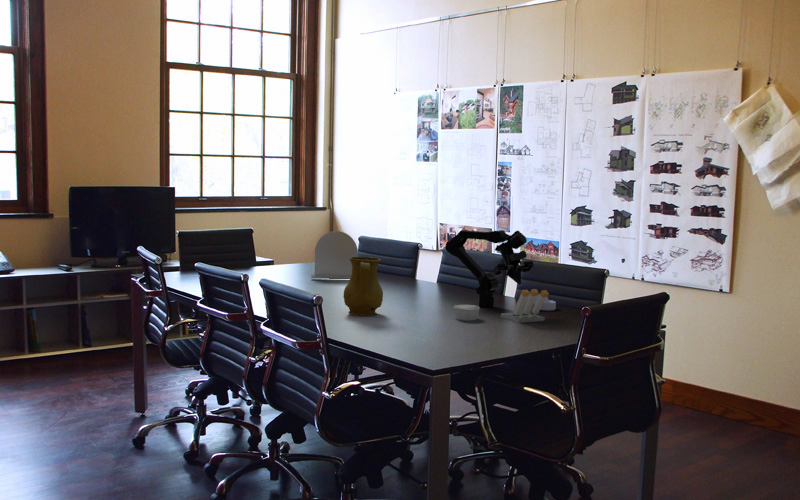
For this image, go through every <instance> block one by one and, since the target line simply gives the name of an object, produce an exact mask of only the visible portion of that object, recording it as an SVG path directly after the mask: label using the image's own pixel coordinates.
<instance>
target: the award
mask: <svg viewBox="0 0 800 500" xmlns="http://www.w3.org/2000/svg"><path fill="white" fill-rule="evenodd" d="M358 250H359V249H358V247H357V243H356V241H355V240H354V239H353V237H352V236H351V235H349V234H348V233H345V232H344V231H340V230H333V231H329V232H326V233H325V234H323V235H321V237H320V238H319V239H318V241H317V243H316V245H315V247H314V274H311V275H310V277H311V278H329V279H350V278H351V274H352V263H351V261H350V260H349V258H350V257H359V256H358V255H359V254H358V253H359V251H358ZM311 278H310V279H311Z"/></svg>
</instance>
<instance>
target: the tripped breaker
mask: <svg viewBox="0 0 800 500" xmlns="http://www.w3.org/2000/svg"><path fill="white" fill-rule="evenodd" d="M549 294H550V293H549V292H548V291H547V289H543V290H541V291H540V292H539V294H538V295H539V297H538V299H537V301H536V303H535V304H533V306H532V309H531V311H530V313H531V315H539V313H540V311H541V310H540V309H541V307H542V305H543V303H544V301H545V300H546V298H547V297H548V296H549Z"/></svg>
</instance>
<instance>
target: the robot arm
mask: <svg viewBox="0 0 800 500" xmlns="http://www.w3.org/2000/svg"><path fill="white" fill-rule="evenodd" d="M469 239H470V240H482V241H487V242H490V243H493V244H497V245H495V246H496V247H495V249H494V252H495V251H496V252H500V255H501V257H502V259H501V261H502V263H497V264H495V266H494V268H493V269H492V272H485V271H484V270H483V268H482V267H481V266H480V265H479V264H478V263H477V262H476V261H475V260H474V259H473V258H472V257H471V256H470V254H468V252H467V251H466V248H465V244H466V243H467V241H468V240H469ZM527 241H528V239H527V237H526V236H525V235H524V234H523V233H522V232H520V230H515V231H514V232H513V233H512V234H508V233H507V232H506V231H505V230H502V229H501V230H491V231H479V230H467V229H465V230H463V229H462V230H460V231H459V232H458V233H457V234H456V235H455V236H453V237H452V238H451V239H450V240H448V241H447V242H446V243H445V250H446V252H447V253H449V254H450V255H452V256H453V257H455V258H457V259H458V260H459V261H460V262H461V263H462V265H464V266H465V267H466V268H467V269H468V270H469V272H470V273H471V274H472V275H473V276H474V277H475V278H476V279H477V283H478V285H479V286H478V287H477V288H476V289H475V292H476V294H477V295H478V305H477V306H478V307H480V308H489V309H490V308H491V309H493V306H495V305H494V303H495V297H494V294H495V293H496V290H497V289H498V288H499V281H498V277H496V276H500V275H501V273H502V272H504V271H505V272H506V273H505V276H507V277H509V278H510V279H511V280H512V281H514V282H515V283H516V284H517V285H521V284H522V272H523V273H528V272H530V271H531V270H532V269H533V267H535V263H534V261H533V260H525V261H523V260H524V259H526V258H527V252H526V250H521V251H519V252H515V251H514V250H518V249H519V248H521V247H522V246H524V245H525V244H526V243H527ZM522 261H523V263H522V264H520V263H521V262H522Z"/></svg>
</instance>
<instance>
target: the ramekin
mask: <svg viewBox="0 0 800 500" xmlns="http://www.w3.org/2000/svg"><path fill="white" fill-rule="evenodd" d="M480 308H481V307H479V306H478V305H474V304H473V305H472V304H457V305H454V306H453V311H454V318H455V319H456V320H458V321H464V322H465V321H466V322H470V321H471V322H472V321H476V320H477V319H478V317H479V313H480Z"/></svg>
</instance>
